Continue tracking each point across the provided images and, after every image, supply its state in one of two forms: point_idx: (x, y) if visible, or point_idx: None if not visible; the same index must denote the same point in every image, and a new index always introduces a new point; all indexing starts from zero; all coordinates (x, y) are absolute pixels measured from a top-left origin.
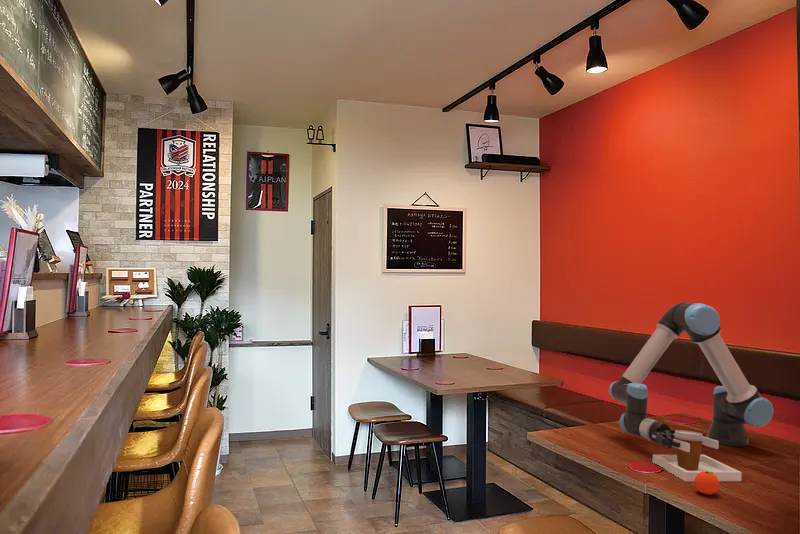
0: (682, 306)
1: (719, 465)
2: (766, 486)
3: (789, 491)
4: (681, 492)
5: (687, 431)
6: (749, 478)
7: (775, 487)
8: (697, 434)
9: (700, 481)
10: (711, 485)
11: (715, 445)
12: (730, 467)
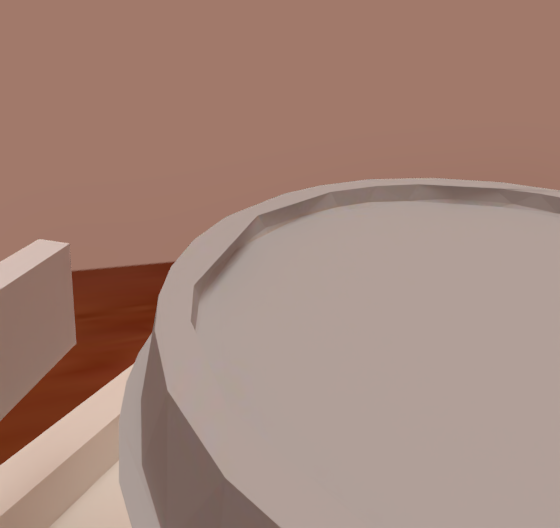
0: None
1: (41, 497)
2: (147, 314)
3: (137, 269)
4: None
5: (255, 459)
6: (42, 384)
7: (124, 297)
8: (361, 236)
9: None
10: None
11: (59, 316)
12: (105, 394)
